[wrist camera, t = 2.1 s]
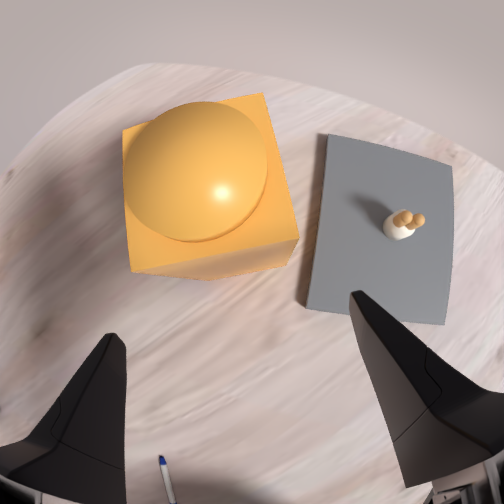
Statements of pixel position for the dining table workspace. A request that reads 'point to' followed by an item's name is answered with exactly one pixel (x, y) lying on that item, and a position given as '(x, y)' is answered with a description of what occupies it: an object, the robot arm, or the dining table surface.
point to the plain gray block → (383, 232)
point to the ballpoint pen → (167, 480)
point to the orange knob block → (207, 192)
